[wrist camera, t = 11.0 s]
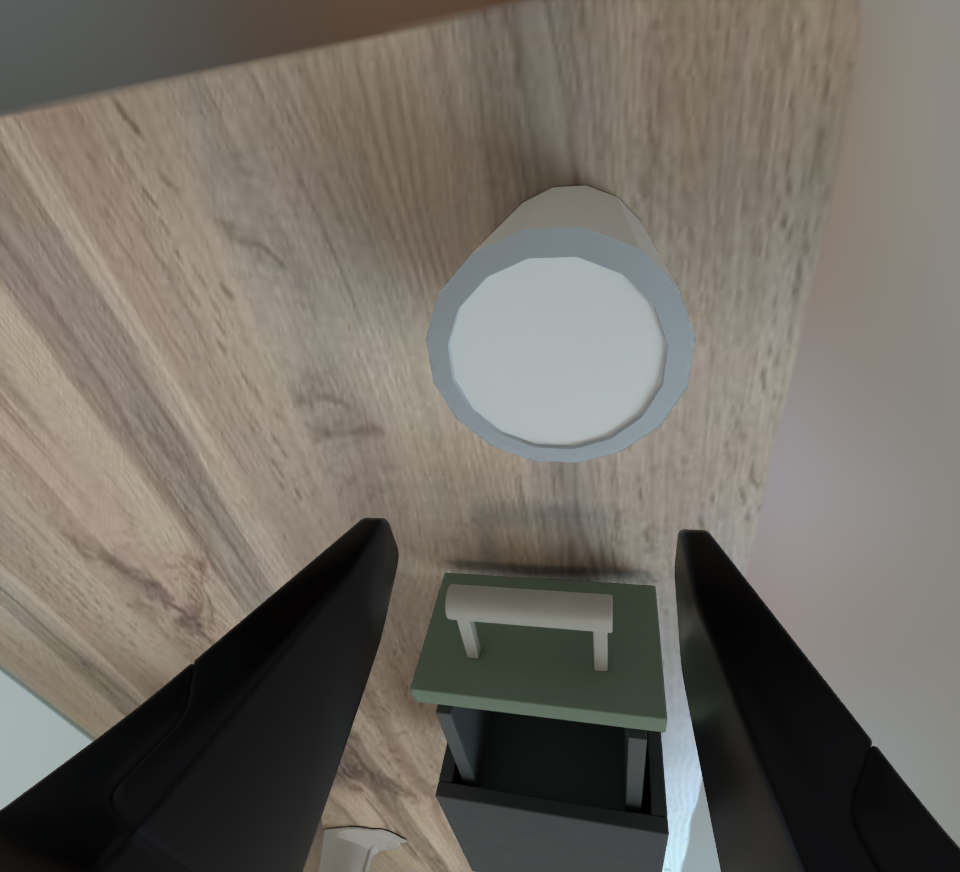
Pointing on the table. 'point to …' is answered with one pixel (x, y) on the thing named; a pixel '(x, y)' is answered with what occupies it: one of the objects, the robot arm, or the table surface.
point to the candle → (354, 848)
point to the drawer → (546, 685)
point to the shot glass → (562, 331)
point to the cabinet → (556, 826)
